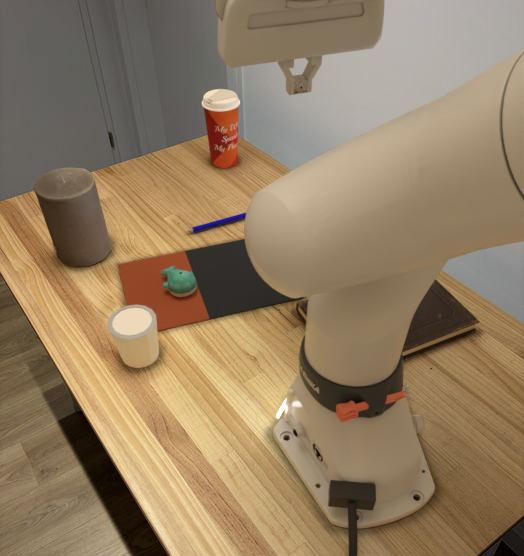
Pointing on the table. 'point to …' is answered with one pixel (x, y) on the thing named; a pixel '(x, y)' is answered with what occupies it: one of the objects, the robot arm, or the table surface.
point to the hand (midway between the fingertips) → (298, 92)
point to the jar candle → (135, 335)
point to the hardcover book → (429, 321)
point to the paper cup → (222, 126)
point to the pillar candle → (73, 216)
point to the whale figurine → (179, 281)
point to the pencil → (217, 222)
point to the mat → (199, 285)
